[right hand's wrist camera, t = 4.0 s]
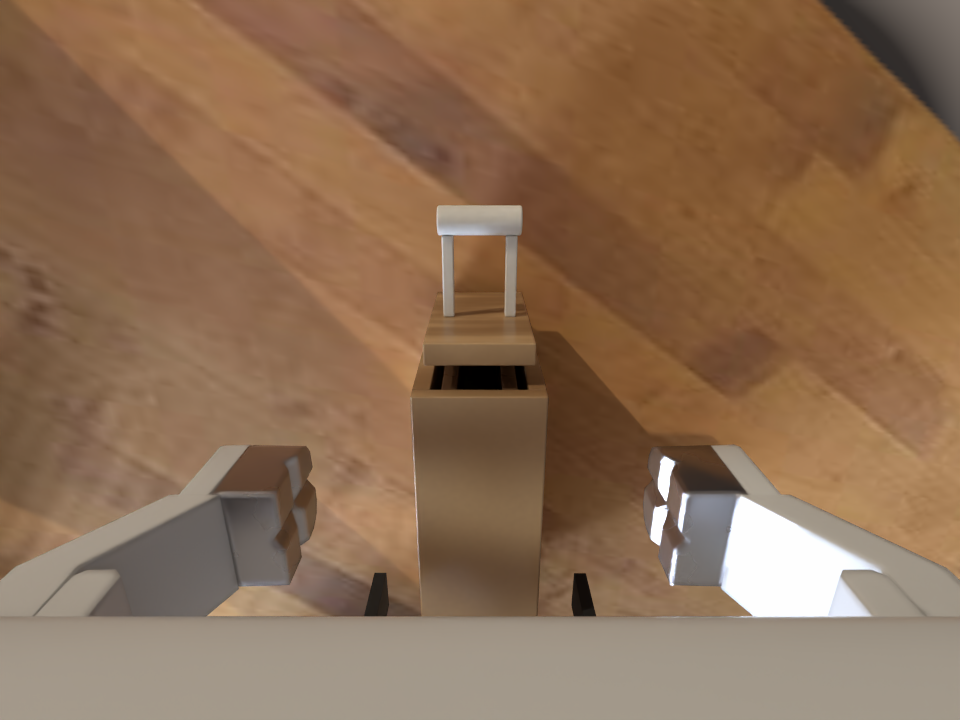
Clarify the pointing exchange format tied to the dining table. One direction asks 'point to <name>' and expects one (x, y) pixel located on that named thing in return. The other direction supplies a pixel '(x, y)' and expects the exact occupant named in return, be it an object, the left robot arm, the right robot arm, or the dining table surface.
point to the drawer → (479, 309)
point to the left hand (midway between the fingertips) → (480, 588)
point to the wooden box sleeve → (479, 494)
